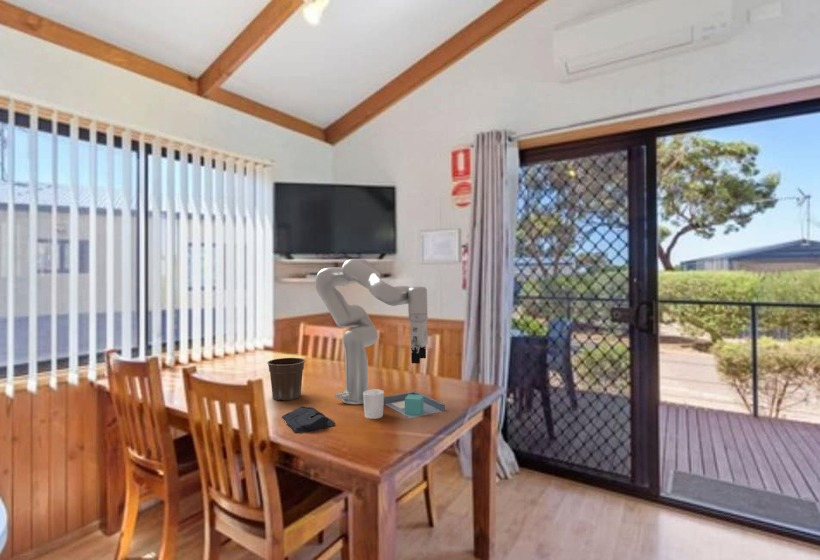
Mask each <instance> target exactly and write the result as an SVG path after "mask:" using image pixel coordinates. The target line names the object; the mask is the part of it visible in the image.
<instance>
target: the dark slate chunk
mask: <svg viewBox="0 0 820 560" xmlns="http://www.w3.org/2000/svg"><path fill="white" fill-rule="evenodd" d="M282 418H283V419H284V420H285V421H286V423H287V424H286V423H285V424H286V426H288V425H289V427H290V428H291V429H292V432H293V433H294V434H300V435H301V434H304V433H305V434H306V433H309V432H319V431H323V430H326V429H329V428H332V427H334V426H336V422H335V421H334V420H333V419H331V418H329V417H328V416H326V415H324V414H323V413H322V412H320V411H318V410H317V409H316V408H315V407H313V406H299V407H297V408H295V409H294V410H292V411H288V412H287V413H284V414H283V415H282V416H281V419H282ZM283 419H282V420H283ZM284 420H283V421H284ZM285 421H284V422H285ZM291 429H290V430H291Z"/></svg>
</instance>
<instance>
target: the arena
mask: <svg viewBox="0 0 820 560" xmlns="http://www.w3.org/2000/svg"><path fill="white" fill-rule="evenodd" d="M408 394H413V395H423V412H422V413H421V415H409V414H405V398H406V397H407V395H408ZM384 405H385V406H387V407H388V408H390V409H392V410H394V411H396V412H398V413H399V414H400V415H404V416H405V417H406V418H408V419H413V418H418V417H423V416H427V415H431V414H433V415H434V414H436V413H441V412H442V413H443V412H445V411H446V403H443V402H440V401H438V400H436V399H433V398H432V397H429V396H427V395H425V394H422V393H420V392H418V391H416V390H415V391H408V392H407V391H406V392H404V393H403V392H402V393H398V394H391V395H387V396H385V395H384Z"/></svg>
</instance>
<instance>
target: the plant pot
mask: <svg viewBox="0 0 820 560" xmlns="http://www.w3.org/2000/svg"><path fill="white" fill-rule="evenodd" d="M266 363H267V365H268V372H269V374H270V375H269V376H270V384H271V394H272V398H273V400H276V401H281V400H282V401H292V400H295V399H299V398H300V397H301V395H302V383H303V370H304V367H305V363H306V358H305V359H304V358H300V357H281V358H274V359H270V360H268V361H267V362H266Z"/></svg>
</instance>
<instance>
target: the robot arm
mask: <svg viewBox="0 0 820 560" xmlns="http://www.w3.org/2000/svg"><path fill="white" fill-rule="evenodd" d="M381 276H382V275H381V272H379V271H378V270H377V269H374V268H373V266H372V264H371V263H370V262H369V261H368V260H366V259H363V258H350V259H347V260H346V261H344V263H343V264H342V266H340V267H339V266H338V267H333V266H332V267H326V268H322V269H321V270H319V271H318V273H317V274H316V276H315V280H314V283H315V289H316V292H317V294H318V296H319V297H320V298H321V300H322V301H323V303H324V305H325V307H326V308H327V311H328V312H329V314H330V315H331V317H332V319H333V321H334V322H335V324H336V326H338V327H339V328H341V329H342V328H343V329H345V328H346V329H347V328H348V329H347V330H346V331H345V332H344V333H343V337H342V345H343V350H344V359H345V389H343V392H341V393H335V395H334V399H336V400H337V399H340V400H342V402H343V403H344V404H347V405H364V400H363V392H364V391H367V390H369V364H368V363H369V362H368V360H369V358H368V354H367V351H366V349H365V348H368V347H371V346H373V345H374V344H375V343H376V342H377V341H378V336H379V335H378V334H379V333H378V331H377V328H376V327H375V325H374V323H373V321H372V320H371V318H370V316H369V315H368V313H367V312H366V309H364V308H363V307H362V306H360V305H358V304H349V303H348V302H347V301H346V299H345V297H344V295H343V294H342V293H341V292H340V291H339V290H338V289H337V288H336V287H344V286H348V285H351V284H354V283H357V284H359V285H360V286H363V287H364V288H365V289H367V290H368V291H369V292H370V294H371V295H372V296H373V297H374V298H376V299H377V300H379V301H380V302H382V303H384V304H386V305H389V306H392V307H396V306H400V305H401V306H402V305H403V306H404V305H408V307H407V308H408V322H409V323H410V330H409V331H410V332H409V334H410V335H409V337H410V338H409V339H410V340H409V341H410V343H409V344H410V346H411V347H410V357H411V364H417V365H418V364H421V363H420V362H421V361H420V360H421V359H426V358H427V348H426V347H427V345H428V343H429V339H428V338H429V337H428V325H427V322H428V321H429V319H428V290H427V288H426V287H425V286H408V285H400V286H399V285H398V286H397V285H396V286H392V285H391V284H388V283H386V282H385V281H384V280H382V279H381Z"/></svg>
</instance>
